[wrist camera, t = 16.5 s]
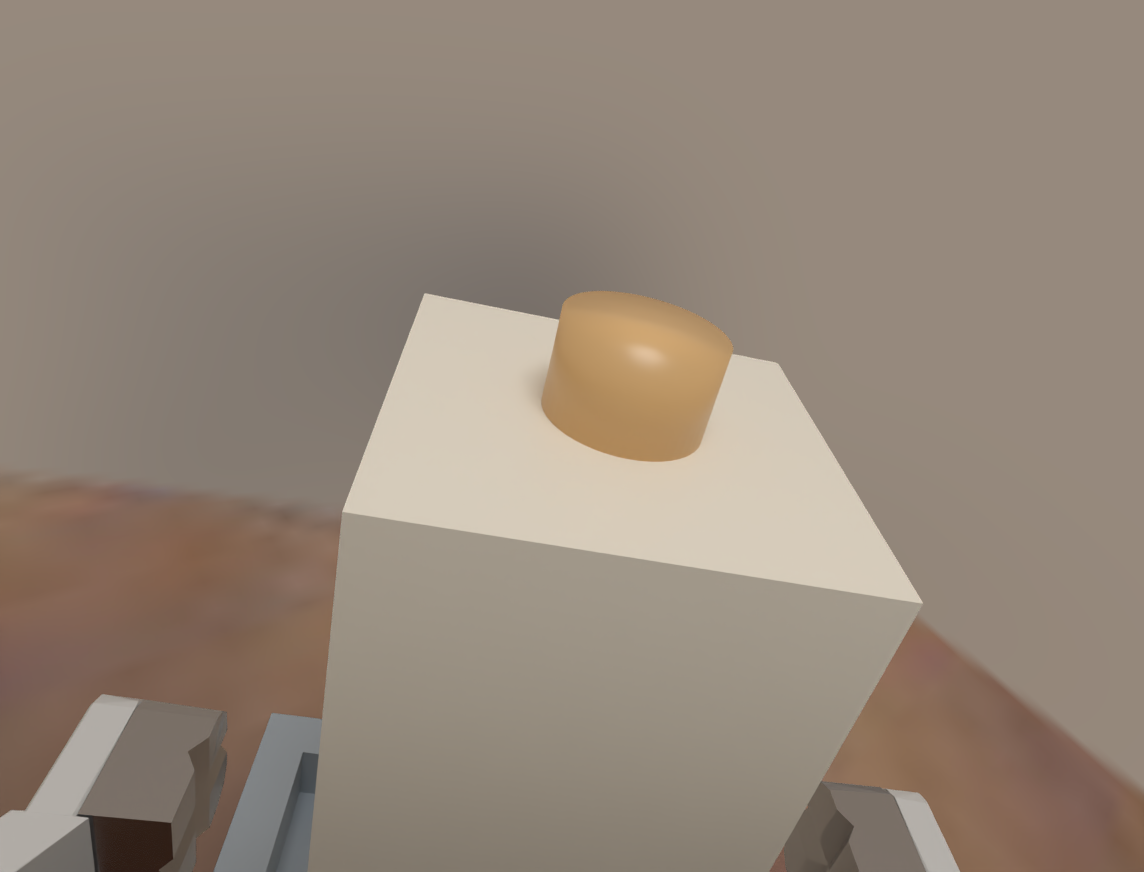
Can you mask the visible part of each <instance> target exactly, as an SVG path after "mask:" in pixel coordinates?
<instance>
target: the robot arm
mask: <svg viewBox="0 0 1144 872" xmlns="http://www.w3.org/2000/svg"><path fill="white" fill-rule="evenodd" d="M226 731H227V712H224V711H218V710H211V709H204V708H198V707H191V706H184V705H177V704H170V703H164V702H157V701H150V700H143V699H135V698H127V697H120V696H112V695H104V694H102V695H101V696H100V697H99V698H98V699H97V700H96V701H94V702H93V703H92V704H91V705H90V707H89V708H88V710H87V712H86V713H85V715H84V716H83V718H82V720H81V721H80V723H79V724H78V726H77V728H76V729H75V731H74V732H73V734H72V736H71V737H70V739H69V741H68V742H67V744H66V745H65V747H64V749H63V750H62V752H61V753H60V755H59V757H58V758H57V760H56V761H55V763H54V765H53V766H52V768H51V770H50V771H49V773H48V774H47V776H46V778H45V779H44V781H43V782H42V784H41V786H40V787H39V789H38V790H37V792H36V794H35V795H34V797H33V799H32V800H31V802H30V803H29V805H28V807H27V808H26V810H25V811H23V810H10V811H9V812H7V813H6V814H4V815H3V816H1V817H0V872H192V871H193V868H194V866H195V863H196V838H197V837H198V836H199V835H201V834H202V833H203V832H204V831H206V830H207V829H208V828H209V827H210V824H211V822H212V819H213V816H214V814H215V811H216V808H217V805H218V802H219V798H220V795H221V791H222V787H223V784H224V778H225V772H226V765H227V752H226V751H225V750H224V749H223V747H222V746H221V743H222V741H223V738H224V736H225V733H226ZM808 807H809V808H808V809H806V810H804V812H803V813H802V815H801V817H800V819H799V820H798V822H797V824H796V826H795V827H794V829H793V831H792V833H791V834H790V836H789V838H788V840H787V841H786V843H785V847H784V855H785V865H786V870H787V872H960V871H959V868H958V866H957V864H956V862H955V860H954V858H953V856H952V854H951V852H950V849H949V847H948V845H947V843H946V841H945V839H944V837H943V835H942V833H941V831H940V828H939V826H938V824H937V822H936V820H935V818H934V816H933V814H932V812H931V810H930V807H929V805H928V803H927V802H926V800H925V799H924V798H923V797H922V796H921V795H920V794H919V793H915V792H908V791H899V790H890V789H882V788H880V787H871V786H862V785H852V784H843V783H833V782H823V781H821V782H820V784H819V786H818V787H817V789H816V791H815V793H814V794H813V796H812V798H811V800H810V801H809V803H808Z"/></svg>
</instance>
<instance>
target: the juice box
mask: <svg viewBox="0 0 1144 872" xmlns="http://www.w3.org/2000/svg"><path fill="white" fill-rule="evenodd" d="M732 352H733V346H732V343H731V341H730V340H729V338H728V337H727V336H726V335H725V333H723V332H722V331H721V330H720V329H719V328H717V327H716V326H715V325H713V324H712V323H710V322H709V321H707V320H706V319H704V318H702V317H700V316H698V315H696V314H694V313H692V312H690V311H688V310H685V309H683V308H680V307H678V306H675V305H672V304H669V303H666V302H663V301H660V300H656V299H653V298H649V297H644V296H640V295H635V294H629V293H621V292H611V291H591V292H583V293H578V294H576V295H573V296H571V297H569V298H568V299H567V300H565V302H564V304H563V306H562V311H561V315H560V319H559V320H557V319H551V318H547V317H542V316H536V315H532V314H526V313H521V312H516V311H511V310H506V309H501V308H496V307H491V306H486V305H481V304H476V303H471V302H466V301H461V300H455V299H451V298H446V297H440V296H435V295H430V294H424V297H423V299H422V302H421V305H420V307H419V310H418V312H417V315H416V318H415V320H414V323H413V326H412V328H411V331H410V334H409V336H408V339H407V342H406V344H405V347H404V350H403V352H402V355H401V358H400V360H399V363H398V366H397V368H396V371H395V374H394V376H393V379H392V382H391V384H390V387H389V389H388V392H387V395H386V398H385V400H384V403H383V405H382V408H381V411H380V413H379V416H378V419H377V421H376V424H375V427H374V429H373V432H372V434H371V437H370V440H369V442H368V445H367V448H366V451H365V453H364V456H363V458H362V461H361V464H360V466H359V469H358V472H357V474H356V477H355V480H354V482H353V485H352V488H351V490H350V493H349V496H348V498H347V501H346V503H345V506H344V509H343V511H342V520H341V531H340V541H339V551H338V562H337V572H336V582H335V593H334V603H333V613H332V624H331V634H330V644H329V654H328V665H327V675H326V685H325V696H324V706H323V716H322V727H321V737H320V747H319V758H318V768H317V778H316V788H315V799H314V809H313V819H312V830H311V840H310V850H309V861H308V871H307V872H769V871H770V869H771V867H772V866H773V864H774V862H775V860H776V859H777V857H778V855H779V853H780V852H781V850H782V848H783V846H784V845H785V843H786V841H787V840H788V838H789V836H790V834H791V833H792V831H793V829H794V827H795V826H796V824H797V822H798V820H799V819H800V817H801V815H802V813H803V812H804V810H805V808H806V807H807V805H808V803H809V801H810V800H811V798H812V796H813V794H814V793H815V791H816V789H817V787H818V786H819V784H820V782H821V780H822V779H823V777H824V775H825V774H826V772H827V770H828V768H829V767H830V765H831V763H832V761H833V760H834V758H835V756H836V754H837V753H838V751H839V749H840V747H841V746H842V744H843V742H844V741H845V739H846V737H847V735H848V734H849V732H850V730H851V728H852V727H853V725H854V723H855V721H856V720H857V718H858V716H859V714H860V713H861V711H862V709H863V708H864V706H865V704H866V702H867V701H868V699H869V697H870V695H871V694H872V692H873V690H874V688H875V687H876V685H877V683H878V681H879V680H880V678H881V676H882V675H883V673H884V671H885V669H886V668H887V666H888V664H889V662H890V661H891V659H892V657H893V655H894V654H895V652H896V650H897V648H898V647H899V645H900V643H901V642H902V640H903V638H904V636H905V635H906V633H907V631H908V629H909V628H910V626H911V624H912V622H913V621H914V619H915V617H916V615H917V614H918V612H919V610H920V609H921V607H922V605H923V603H922V601H921V599H920V597H919V596H918V594H917V593H916V591H915V589H914V588H913V586H912V584H911V583H910V581H909V579H908V578H907V576H906V574H905V573H904V571H903V570H902V568H901V566H900V564H899V563H898V561H897V560H896V558H895V556H894V554H893V553H892V551H891V550H890V548H889V546H888V545H887V543H886V541H885V540H884V538H883V537H882V535H881V533H880V531H879V530H878V528H877V527H876V525H875V523H874V521H873V520H872V518H871V516H870V515H869V513H868V512H867V510H866V508H865V507H864V505H863V503H862V502H861V500H860V498H859V497H858V495H857V493H856V492H855V490H854V488H853V487H852V485H851V483H850V482H849V480H848V479H847V477H846V475H845V473H844V472H843V470H842V469H841V467H840V465H839V464H838V462H837V460H836V459H835V457H834V455H833V454H832V452H831V450H830V449H829V447H828V445H827V444H826V442H825V441H824V439H823V437H822V435H821V434H820V432H819V431H818V429H817V427H816V426H815V424H814V422H813V421H812V419H811V417H810V416H809V414H808V412H807V411H806V409H805V407H804V406H803V404H802V402H801V401H800V399H799V397H798V396H797V394H796V393H795V391H794V389H793V388H792V386H791V384H790V383H789V381H788V379H787V378H786V376H785V374H784V373H783V371H782V369H781V368H780V366H779V364H778V363H775V362H770V361H765V360H759V359H754V358H749V357H744V356H740V355H734V354H732Z"/></svg>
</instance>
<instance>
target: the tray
mask: <svg viewBox="0 0 1144 872" xmlns="http://www.w3.org/2000/svg"><path fill="white" fill-rule="evenodd" d="M321 727H322V719H317V718H309V717H301V716H293V715H284V714H276V713H272V714H271V717H270V719H269V722H268V725H267V728H266V730H265V733H264V736H263V738H262V741H261V744H260V747H259V749H258V752H257V755H256V757H255V760H254V763H253V766H252V768H251V771H250V774H249V776H248V779H247V782H246V785H245V787H244V790H243V793H242V795H241V798H240V801H239V804H238V806H237V809H236V812H235V814H234V817H233V820H232V823H231V825H230V828H229V831H228V833H227V836H226V839H225V842H224V844H223V847H222V850H221V853H220V855H219V858H218V861H217V863H216V866H215V869H214V872H307V871H308V861H309V850H310V840H311V830H312V819H313V809H314V799H315V788H316V778H317V768H318V758H319V747H320V737H321Z"/></svg>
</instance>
